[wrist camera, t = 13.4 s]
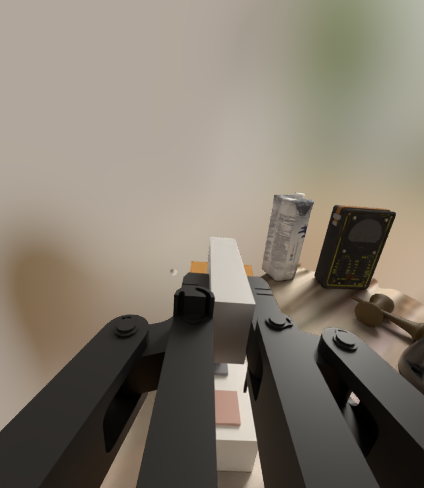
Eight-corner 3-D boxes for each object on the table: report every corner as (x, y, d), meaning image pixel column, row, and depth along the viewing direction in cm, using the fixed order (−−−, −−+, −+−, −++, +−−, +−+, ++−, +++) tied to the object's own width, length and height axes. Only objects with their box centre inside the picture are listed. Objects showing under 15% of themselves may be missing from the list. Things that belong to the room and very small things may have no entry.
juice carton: (275, 283, 71) (294, 195, 61) (257, 268, 80) (271, 189, 70) (298, 280, 74) (319, 196, 65) (278, 265, 83) (295, 190, 74)
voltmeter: (323, 290, 70) (348, 209, 61) (310, 275, 78) (330, 202, 69) (371, 291, 72) (401, 213, 63) (353, 277, 80) (378, 206, 71)
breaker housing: (251, 471, 28) (260, 437, 26) (152, 468, 28) (152, 433, 25) (233, 337, 49) (237, 311, 46) (176, 334, 48) (177, 308, 46)
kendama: (434, 366, 47) (337, 309, 61) (444, 347, 52) (353, 300, 67) (448, 343, 45) (345, 290, 59) (457, 326, 50) (361, 282, 65)
